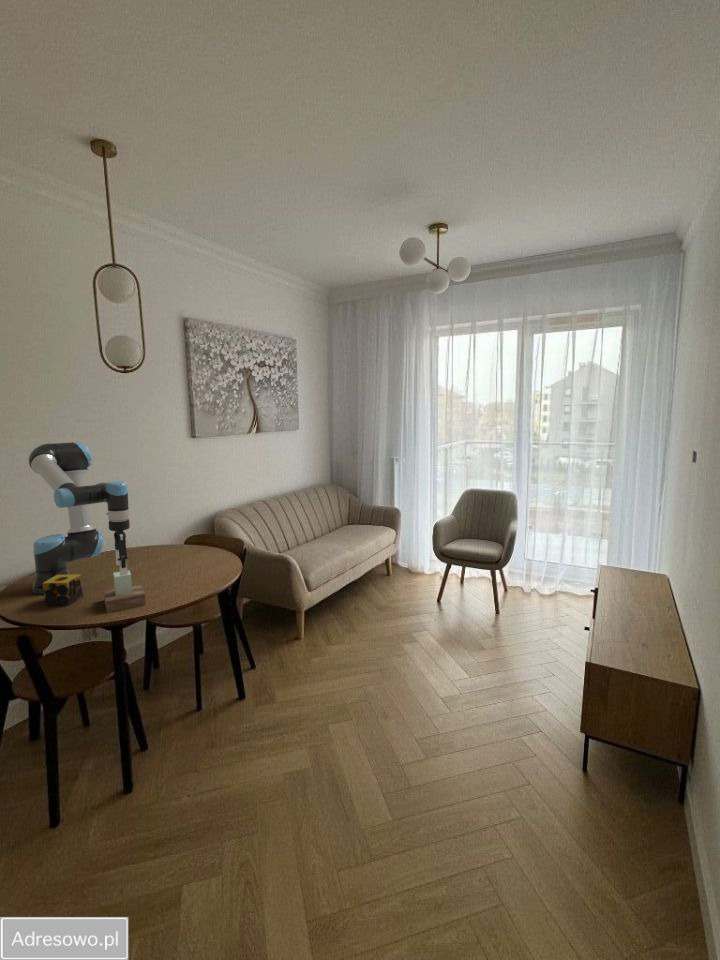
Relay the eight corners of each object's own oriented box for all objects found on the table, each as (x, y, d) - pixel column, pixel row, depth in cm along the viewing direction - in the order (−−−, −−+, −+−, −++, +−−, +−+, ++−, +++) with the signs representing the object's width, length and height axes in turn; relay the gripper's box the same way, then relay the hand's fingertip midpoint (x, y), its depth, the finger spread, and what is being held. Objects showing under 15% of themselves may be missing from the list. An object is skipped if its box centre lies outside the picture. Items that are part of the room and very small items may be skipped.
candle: (83, 596, 198) (81, 574, 197) (69, 606, 188) (67, 582, 187) (59, 596, 198) (57, 574, 196) (44, 606, 188) (42, 582, 186)
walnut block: (104, 601, 194) (103, 590, 193) (140, 594, 202) (139, 583, 201) (107, 613, 182) (106, 601, 182) (145, 605, 190) (144, 594, 189)
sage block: (114, 591, 192) (113, 572, 191) (130, 588, 195) (129, 570, 194) (115, 596, 187) (114, 577, 186) (132, 593, 190) (131, 574, 189)
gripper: (105, 514, 195) (108, 562, 198) (111, 528, 174) (114, 581, 178) (125, 512, 199) (128, 559, 202) (133, 525, 178) (136, 577, 182)
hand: (121, 569), depth 190 cm, fingers open, 13 cm apart
